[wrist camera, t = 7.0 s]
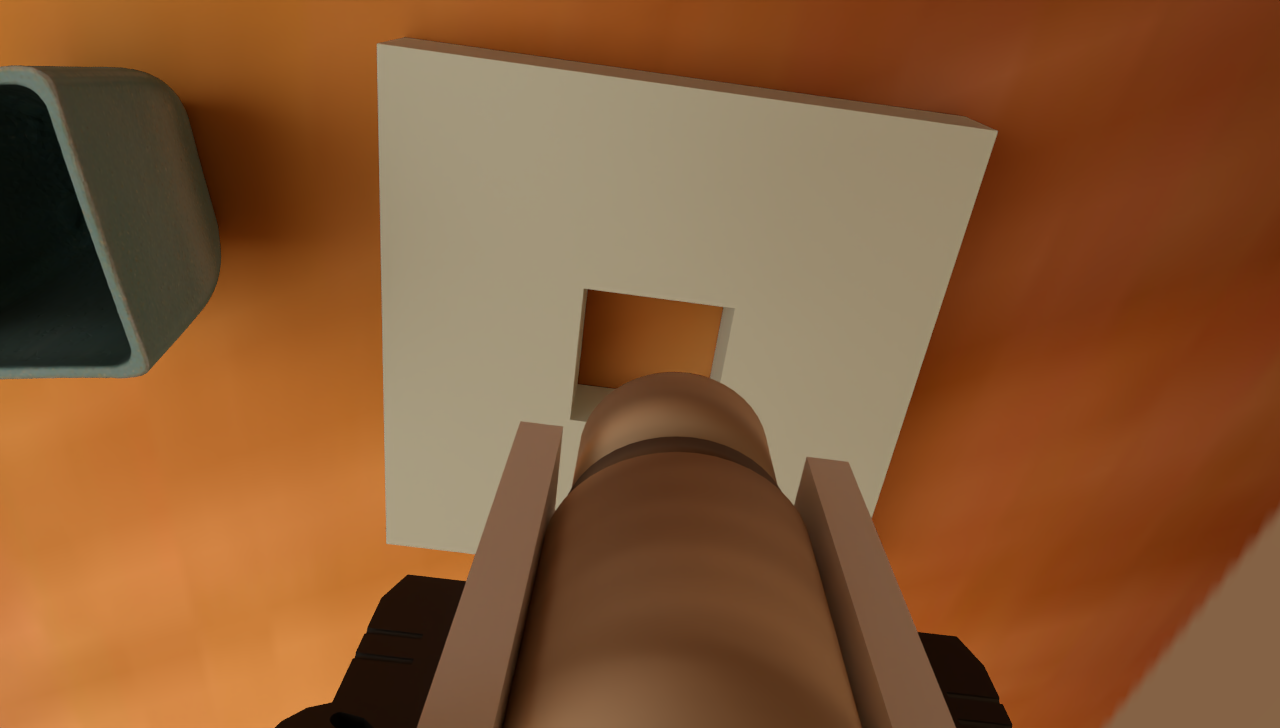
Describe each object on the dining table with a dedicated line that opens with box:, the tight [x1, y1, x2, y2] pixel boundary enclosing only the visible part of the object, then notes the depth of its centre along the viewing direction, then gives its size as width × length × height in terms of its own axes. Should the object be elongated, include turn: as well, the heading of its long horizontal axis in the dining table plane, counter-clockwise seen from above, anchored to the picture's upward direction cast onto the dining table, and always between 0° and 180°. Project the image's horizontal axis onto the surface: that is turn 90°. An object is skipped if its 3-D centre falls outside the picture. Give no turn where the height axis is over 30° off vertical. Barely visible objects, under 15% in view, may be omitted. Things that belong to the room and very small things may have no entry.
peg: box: [502, 372, 862, 728], centre depth 10 cm, size 4×4×12 cm
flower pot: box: [0, 66, 221, 379], centre depth 25 cm, size 9×9×9 cm
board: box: [377, 37, 998, 554], centre depth 30 cm, size 20×20×3 cm
